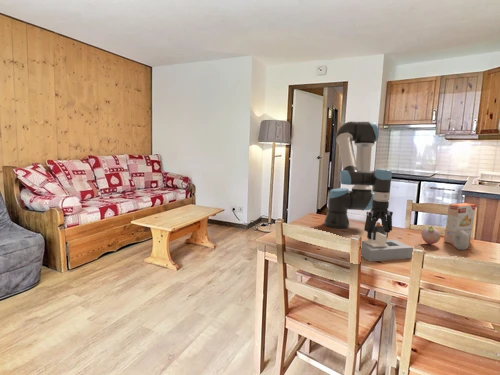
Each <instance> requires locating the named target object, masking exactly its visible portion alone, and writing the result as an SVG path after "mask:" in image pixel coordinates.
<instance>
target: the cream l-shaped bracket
mask: <svg viewBox="0 0 500 375" xmlns="http://www.w3.org/2000/svg"><path fill="white" fill-rule="evenodd" d="M386 238H387V239H388V237H387V236H386V235H383V234H381V233H379V232H376V239H375V240H369V241H368V240H363V241H364V243H366V244H368V245H370V246H372V247H387V246H388V245H387V244H386V240H387V239H386Z"/></svg>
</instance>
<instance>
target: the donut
mask: <svg viewBox="0 0 500 375" xmlns="http://www.w3.org/2000/svg"><path fill="white" fill-rule="evenodd" d="M453 243H454V247H455V248H456V249H458V250H459V251H466V250H467V248H468V247H469V246H470V242H469V237H468V235H467V233H466V232H465V231H463V230H458V231H456V232H455V233H454V235H453Z"/></svg>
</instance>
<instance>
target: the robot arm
mask: <svg viewBox="0 0 500 375" xmlns="http://www.w3.org/2000/svg"><path fill="white" fill-rule="evenodd" d="M379 136H380V132H379V126H378V124H377V123H376V122H374V121H373V122H372V121H347V122H345V123H343V124H341V125H340V127H339V128H338V129H337V131H336V135H335V142H336V143H337V144H338V149H339V156H340V160H341V162H340V163H341V166H342V170H340V172H339V183H340V184H341V185H346V186H353V187H351V190H349V188H345V187H339V188H332V189H330V190H329V194H328V203H327V204H328V207H327V213H326V216H325V219H324V221H323V222H324V223H323V225H324V226H327V227H328V228H334V229H347V228H349V227H350V221H349V217H348V210H349V211H350V210H355V211H366V218H365V223H364V228H363V231H365V232H367V236H366V237H367V241H369V240H373V234H374V233H372V231H373V229H374V227H375V226H376V225H377V222H378V221H379V219H380V220H381V225H382V227H385V228H384V235H386V236H387V238H386V240H388V236H389V233H391V231H392V230H393V211H391V210H388V209H389V205H390V201H389V200H390V193H391V186H392V185H391V184H392V177H393V176H392V170H391V169H388V168H376V169H375V170H371V166H372V165H371V164H372V163H371V162H372V148H373V146H375V144H376V143H375V142H378V141H379ZM353 144H354V145H355V146H356V152H355V149H354V147H353V146H354V145H353ZM355 153H356V155H355ZM371 186H372V187H373V189H372V187H371ZM372 190H373V191H372ZM371 209H372V210H371ZM370 210H371V211H370Z"/></svg>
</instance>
